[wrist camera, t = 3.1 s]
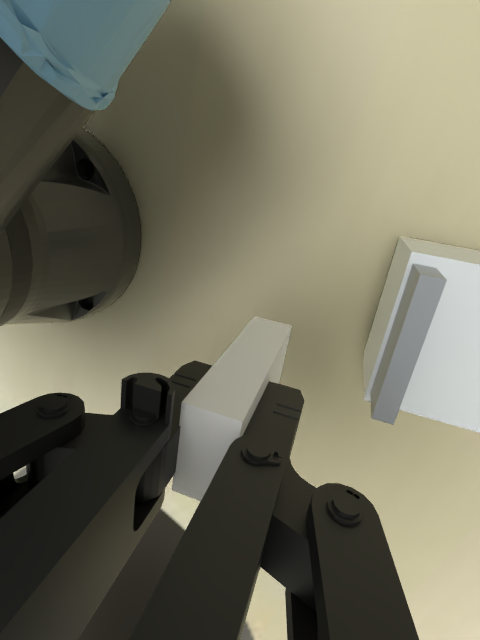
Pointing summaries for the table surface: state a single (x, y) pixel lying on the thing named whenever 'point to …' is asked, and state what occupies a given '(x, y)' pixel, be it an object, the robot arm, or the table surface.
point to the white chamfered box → (427, 336)
